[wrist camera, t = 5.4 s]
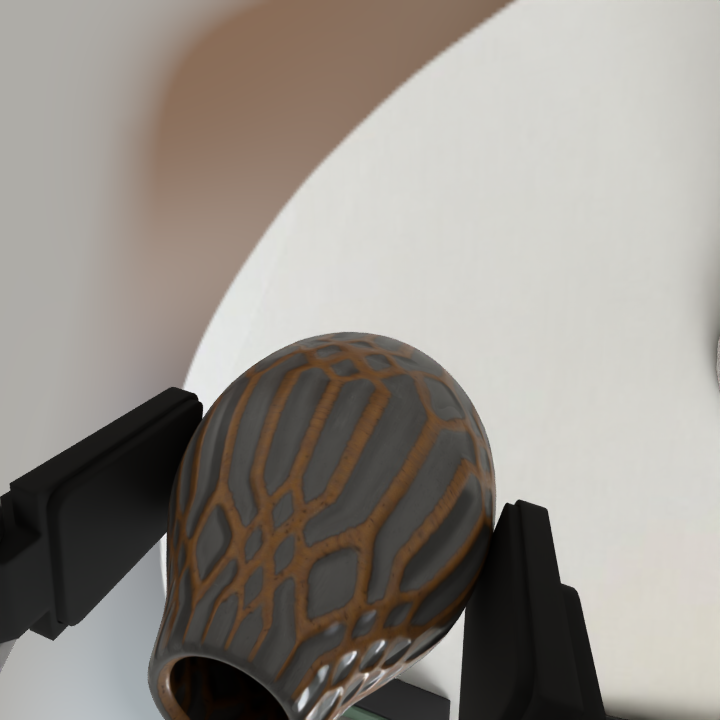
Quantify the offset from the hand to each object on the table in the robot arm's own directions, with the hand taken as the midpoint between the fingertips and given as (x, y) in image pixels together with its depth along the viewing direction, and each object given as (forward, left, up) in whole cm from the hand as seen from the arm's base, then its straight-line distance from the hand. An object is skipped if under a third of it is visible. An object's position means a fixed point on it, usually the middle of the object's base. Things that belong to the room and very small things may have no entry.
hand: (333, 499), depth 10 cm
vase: (0, 0, -4) cm, 4 cm away
